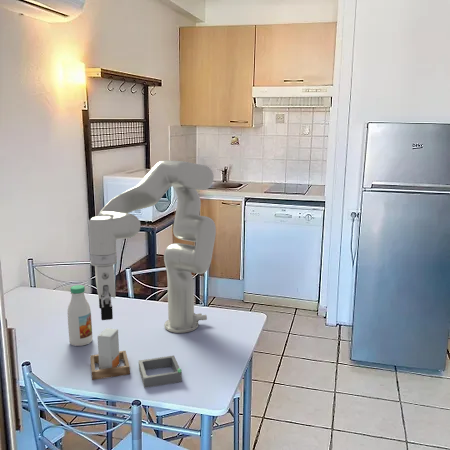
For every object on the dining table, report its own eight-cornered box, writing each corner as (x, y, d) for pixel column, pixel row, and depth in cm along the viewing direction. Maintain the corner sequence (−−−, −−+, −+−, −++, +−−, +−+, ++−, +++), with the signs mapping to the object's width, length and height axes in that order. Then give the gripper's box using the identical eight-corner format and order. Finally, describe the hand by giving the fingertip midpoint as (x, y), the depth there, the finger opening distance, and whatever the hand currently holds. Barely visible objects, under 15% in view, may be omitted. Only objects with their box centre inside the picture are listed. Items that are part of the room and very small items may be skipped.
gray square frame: (174, 364, 152) (174, 352, 151) (182, 381, 141) (182, 369, 140) (139, 369, 148) (138, 357, 147) (144, 388, 138) (143, 375, 137)
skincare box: (112, 374, 146) (110, 337, 143) (99, 372, 147) (96, 336, 144) (120, 364, 152) (118, 328, 149) (107, 363, 152) (105, 327, 150)
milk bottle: (71, 348, 162) (67, 292, 158) (67, 339, 169) (63, 285, 165) (94, 343, 166) (91, 288, 161) (90, 335, 172) (86, 281, 168)
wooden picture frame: (125, 357, 156) (125, 350, 155) (129, 374, 146) (129, 366, 145) (90, 362, 153) (90, 355, 152) (92, 380, 142) (91, 372, 142)
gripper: (119, 265, 135) (121, 322, 138) (114, 250, 151) (115, 302, 154) (91, 267, 132) (94, 325, 136) (89, 252, 149) (91, 304, 152)
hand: (105, 313), depth 145 cm, fingers open, 9 cm apart
